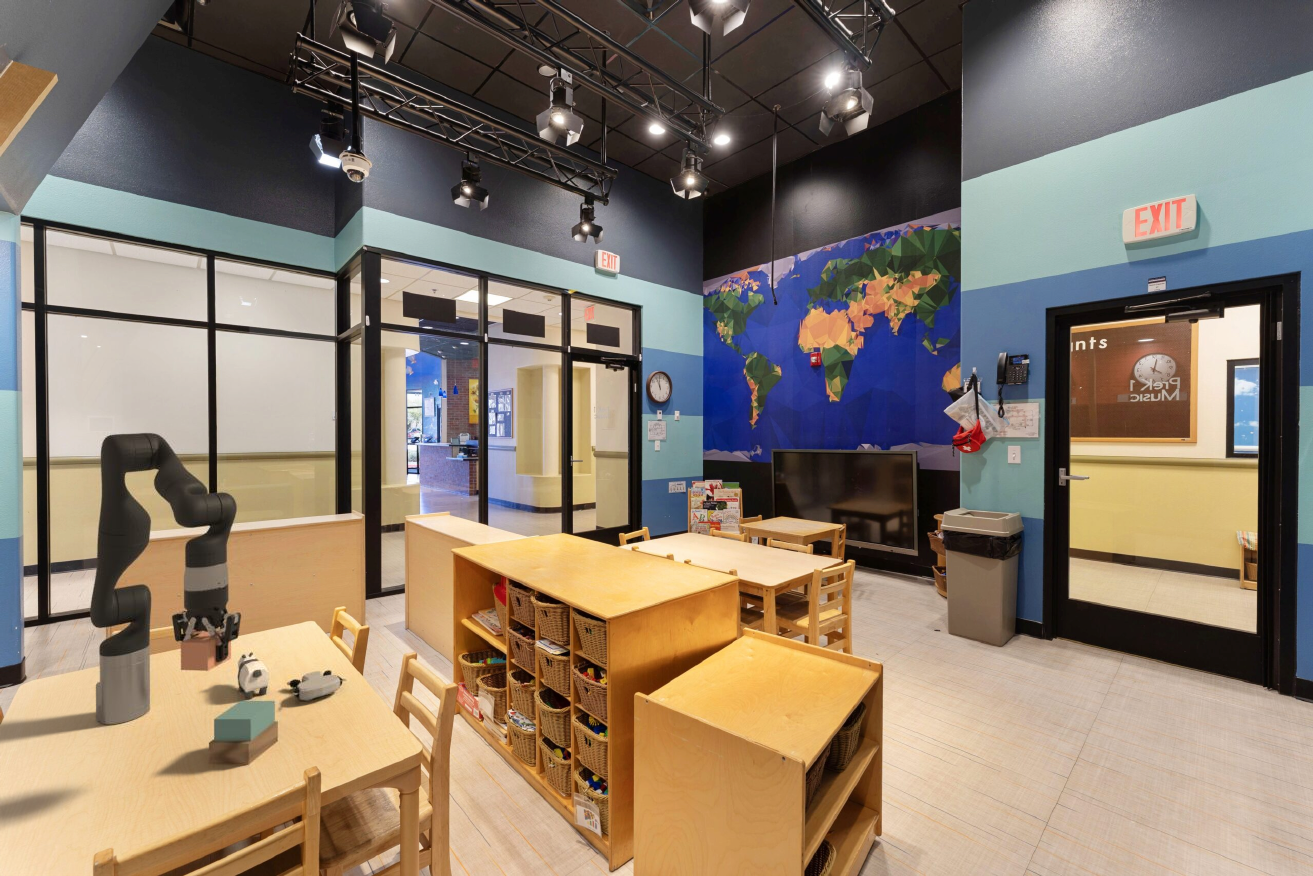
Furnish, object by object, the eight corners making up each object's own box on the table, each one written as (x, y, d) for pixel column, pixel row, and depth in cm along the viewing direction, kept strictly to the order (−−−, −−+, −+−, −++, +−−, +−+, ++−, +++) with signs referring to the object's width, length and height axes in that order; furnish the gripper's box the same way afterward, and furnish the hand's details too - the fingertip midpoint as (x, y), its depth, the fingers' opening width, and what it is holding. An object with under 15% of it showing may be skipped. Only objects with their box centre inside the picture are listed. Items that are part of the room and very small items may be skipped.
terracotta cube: (180, 670, 116) (180, 642, 116) (205, 658, 122) (205, 631, 122) (207, 670, 115) (207, 643, 115) (231, 658, 121) (230, 632, 121)
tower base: (208, 764, 120) (208, 742, 120) (240, 741, 129) (240, 720, 129) (248, 765, 120) (248, 743, 120) (277, 742, 129) (277, 721, 129)
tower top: (214, 741, 120) (214, 719, 120) (240, 721, 128) (240, 701, 128) (250, 741, 121) (250, 719, 121) (274, 721, 129) (274, 700, 129)
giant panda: (270, 695, 150) (270, 661, 150) (245, 702, 146) (245, 667, 146) (255, 678, 160) (255, 646, 160) (232, 685, 156) (231, 652, 155)
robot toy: (284, 693, 153) (296, 709, 143) (284, 677, 154) (295, 692, 143) (333, 679, 162) (347, 693, 151) (332, 664, 162) (347, 677, 152)
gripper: (158, 588, 115) (159, 666, 115) (223, 590, 114) (224, 668, 115) (190, 578, 122) (191, 652, 123) (251, 580, 122) (252, 654, 122)
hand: (207, 659), depth 119 cm, fingers closed on terracotta cube, 6 cm apart
